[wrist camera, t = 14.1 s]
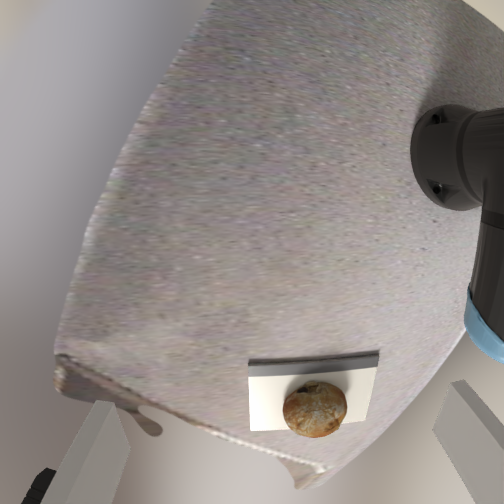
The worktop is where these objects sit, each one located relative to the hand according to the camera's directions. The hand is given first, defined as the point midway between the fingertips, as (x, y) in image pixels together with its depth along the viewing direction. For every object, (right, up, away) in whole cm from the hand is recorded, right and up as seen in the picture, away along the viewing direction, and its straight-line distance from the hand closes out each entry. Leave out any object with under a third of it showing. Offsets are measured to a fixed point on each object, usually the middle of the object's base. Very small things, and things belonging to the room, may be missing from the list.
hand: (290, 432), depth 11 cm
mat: (+8, -16, +37) cm, 41 cm away
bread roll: (+9, -18, +37) cm, 42 cm away
